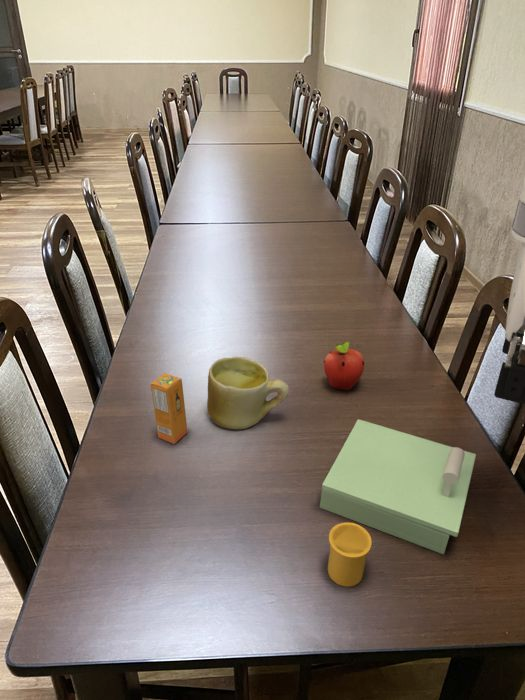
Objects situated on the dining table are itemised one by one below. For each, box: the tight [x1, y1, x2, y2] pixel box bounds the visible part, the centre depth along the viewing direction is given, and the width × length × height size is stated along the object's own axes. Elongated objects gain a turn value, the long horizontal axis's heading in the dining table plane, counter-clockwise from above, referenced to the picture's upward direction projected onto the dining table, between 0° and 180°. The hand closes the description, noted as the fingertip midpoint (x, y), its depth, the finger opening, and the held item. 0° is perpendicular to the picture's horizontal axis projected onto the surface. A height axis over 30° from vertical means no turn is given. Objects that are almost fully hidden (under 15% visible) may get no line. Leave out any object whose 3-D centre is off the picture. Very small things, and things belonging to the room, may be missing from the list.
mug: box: [206, 356, 290, 430], centre depth 82 cm, size 12×10×10 cm
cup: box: [327, 522, 373, 587], centre depth 59 cm, size 5×5×5 cm
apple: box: [323, 341, 365, 391], centre depth 89 cm, size 8×7×10 cm
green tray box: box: [319, 488, 451, 555], centre depth 71 cm, size 16×15×3 cm
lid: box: [321, 419, 477, 538], centre depth 68 cm, size 16×15×5 cm
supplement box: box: [150, 373, 188, 445], centre depth 78 cm, size 3×3×10 cm
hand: (513, 375), depth 59 cm, fingers open, 9 cm apart
